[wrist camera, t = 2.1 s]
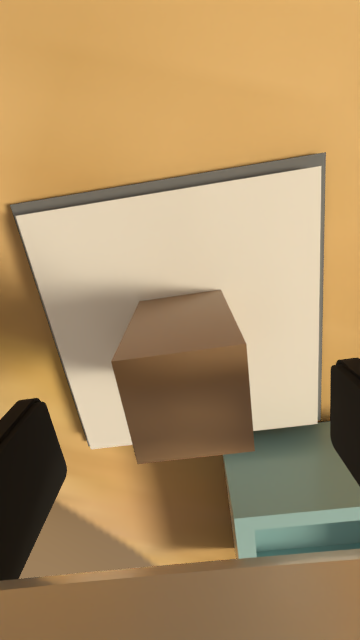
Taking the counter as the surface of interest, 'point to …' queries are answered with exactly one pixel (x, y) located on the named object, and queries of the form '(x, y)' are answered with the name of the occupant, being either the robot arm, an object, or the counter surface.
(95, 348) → the lid
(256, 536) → the dish
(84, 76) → the counter surface
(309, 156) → the mat
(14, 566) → the robot arm
